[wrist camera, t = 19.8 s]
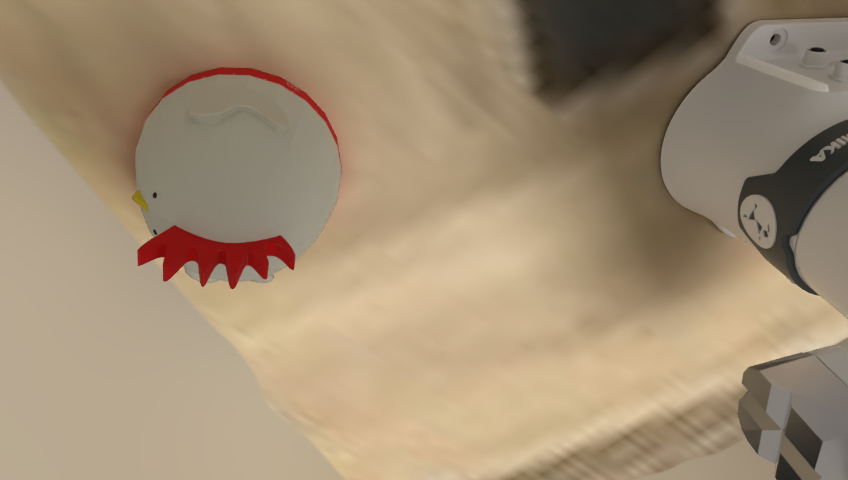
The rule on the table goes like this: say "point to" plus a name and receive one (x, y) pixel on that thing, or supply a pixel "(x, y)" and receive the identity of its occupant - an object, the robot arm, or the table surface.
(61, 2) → the table surface
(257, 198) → the kitchen timer
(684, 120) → the robot arm
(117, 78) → the table surface
